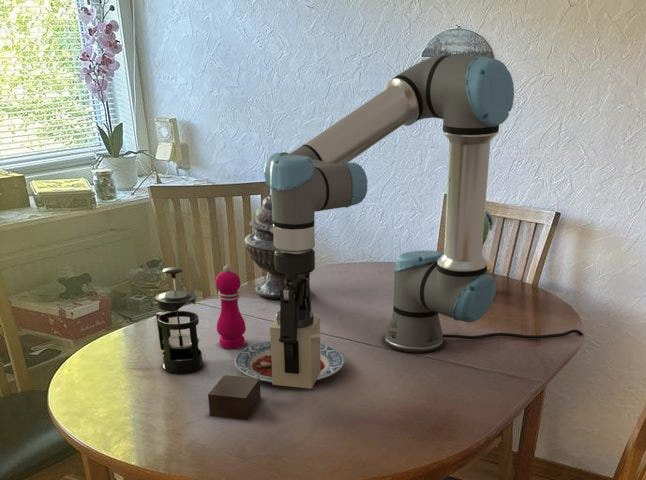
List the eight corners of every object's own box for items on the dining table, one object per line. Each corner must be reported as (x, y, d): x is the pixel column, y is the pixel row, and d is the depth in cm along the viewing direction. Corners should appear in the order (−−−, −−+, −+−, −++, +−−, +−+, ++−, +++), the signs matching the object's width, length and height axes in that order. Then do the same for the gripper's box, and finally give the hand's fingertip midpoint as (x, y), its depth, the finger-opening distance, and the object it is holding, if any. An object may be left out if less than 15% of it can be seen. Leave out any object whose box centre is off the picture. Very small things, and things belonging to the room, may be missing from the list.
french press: (214, 365, 167) (205, 268, 155) (185, 378, 160) (174, 278, 148) (179, 354, 173) (168, 259, 160) (149, 366, 166) (136, 268, 154)
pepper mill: (241, 351, 175) (235, 270, 165) (213, 348, 177) (206, 268, 166) (250, 340, 181) (246, 262, 171) (224, 337, 183) (218, 260, 172)
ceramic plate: (301, 401, 152) (301, 388, 151) (212, 372, 164) (211, 360, 162) (364, 363, 171) (364, 351, 170) (279, 340, 182) (279, 329, 181)
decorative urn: (277, 276, 227) (275, 160, 206) (326, 293, 218) (330, 174, 197) (232, 293, 214) (226, 172, 193) (283, 313, 205) (282, 187, 184)
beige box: (302, 387, 149) (352, 345, 141) (292, 404, 142) (344, 360, 135) (251, 336, 144) (299, 289, 137) (238, 350, 138) (289, 302, 131)
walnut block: (261, 399, 153) (260, 378, 150) (246, 420, 144) (245, 398, 142) (225, 395, 154) (224, 374, 151) (209, 416, 145) (207, 394, 143)
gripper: (289, 233, 138) (292, 343, 151) (257, 262, 121) (264, 383, 133) (326, 236, 137) (326, 346, 150) (300, 265, 120) (303, 387, 132)
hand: (297, 363), depth 141 cm, fingers closed on beige box, 8 cm apart
